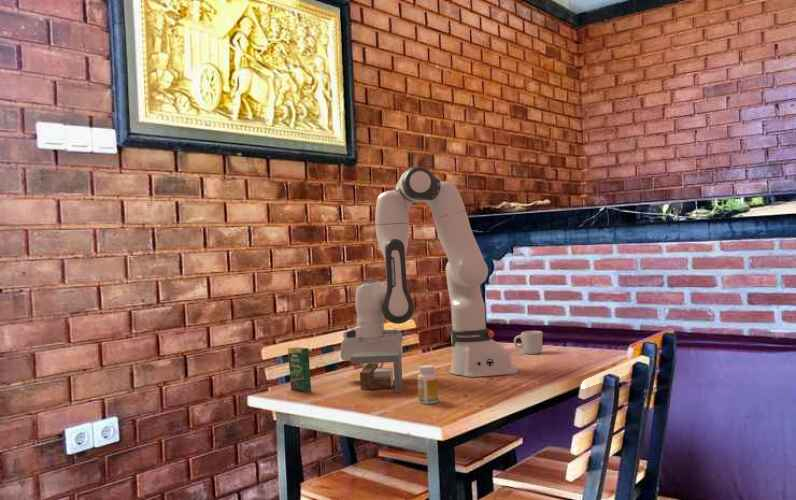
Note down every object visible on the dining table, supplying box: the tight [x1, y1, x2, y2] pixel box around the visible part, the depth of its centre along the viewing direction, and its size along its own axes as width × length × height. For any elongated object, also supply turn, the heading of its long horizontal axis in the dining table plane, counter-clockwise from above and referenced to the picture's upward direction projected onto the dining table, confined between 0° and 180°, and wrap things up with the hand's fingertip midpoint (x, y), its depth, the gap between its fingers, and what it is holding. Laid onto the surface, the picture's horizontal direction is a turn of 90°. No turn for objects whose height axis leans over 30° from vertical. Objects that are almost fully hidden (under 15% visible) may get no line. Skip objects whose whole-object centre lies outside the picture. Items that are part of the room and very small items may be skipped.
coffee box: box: [287, 346, 312, 393], centre depth 201 cm, size 8×3×13 cm, turn 42°
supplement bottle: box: [417, 364, 440, 405], centre depth 176 cm, size 5×5×10 cm
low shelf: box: [350, 351, 404, 394], centre depth 193 cm, size 14×8×11 cm, turn 84°
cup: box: [513, 330, 544, 355], centre depth 244 cm, size 11×8×8 cm
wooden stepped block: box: [359, 363, 392, 390], centre depth 204 cm, size 9×16×5 cm, turn 173°
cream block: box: [374, 367, 394, 388], centre depth 200 cm, size 5×5×5 cm
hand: (372, 373), depth 210 cm, fingers closed on wooden stepped block, 3 cm apart
